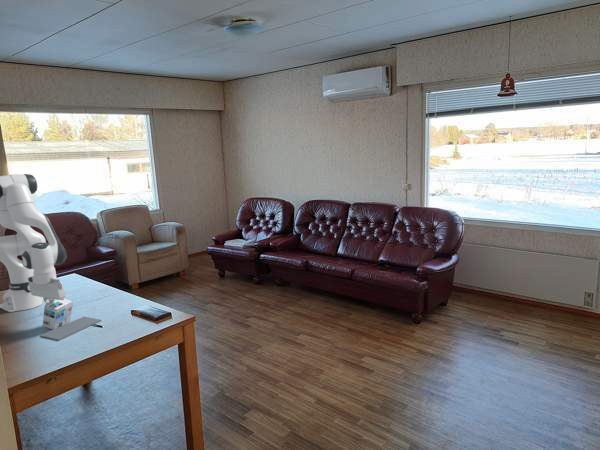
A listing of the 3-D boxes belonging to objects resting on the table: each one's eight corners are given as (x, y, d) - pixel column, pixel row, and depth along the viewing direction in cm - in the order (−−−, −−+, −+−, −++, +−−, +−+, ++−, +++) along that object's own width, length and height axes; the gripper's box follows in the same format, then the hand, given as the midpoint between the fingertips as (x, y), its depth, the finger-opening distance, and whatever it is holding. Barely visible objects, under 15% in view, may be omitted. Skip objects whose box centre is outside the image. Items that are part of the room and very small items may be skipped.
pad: (40, 336, 187) (40, 335, 186) (83, 317, 206) (83, 316, 206) (58, 340, 182) (58, 339, 182) (101, 320, 201) (101, 319, 201)
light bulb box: (54, 330, 192) (56, 309, 190) (41, 325, 193) (43, 305, 191) (71, 321, 203) (73, 301, 200) (59, 316, 204) (61, 296, 201)
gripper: (66, 277, 193) (71, 306, 196) (37, 274, 202) (42, 301, 204) (54, 282, 188) (58, 311, 190) (24, 277, 196) (29, 305, 199)
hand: (50, 306), depth 197 cm, fingers closed
